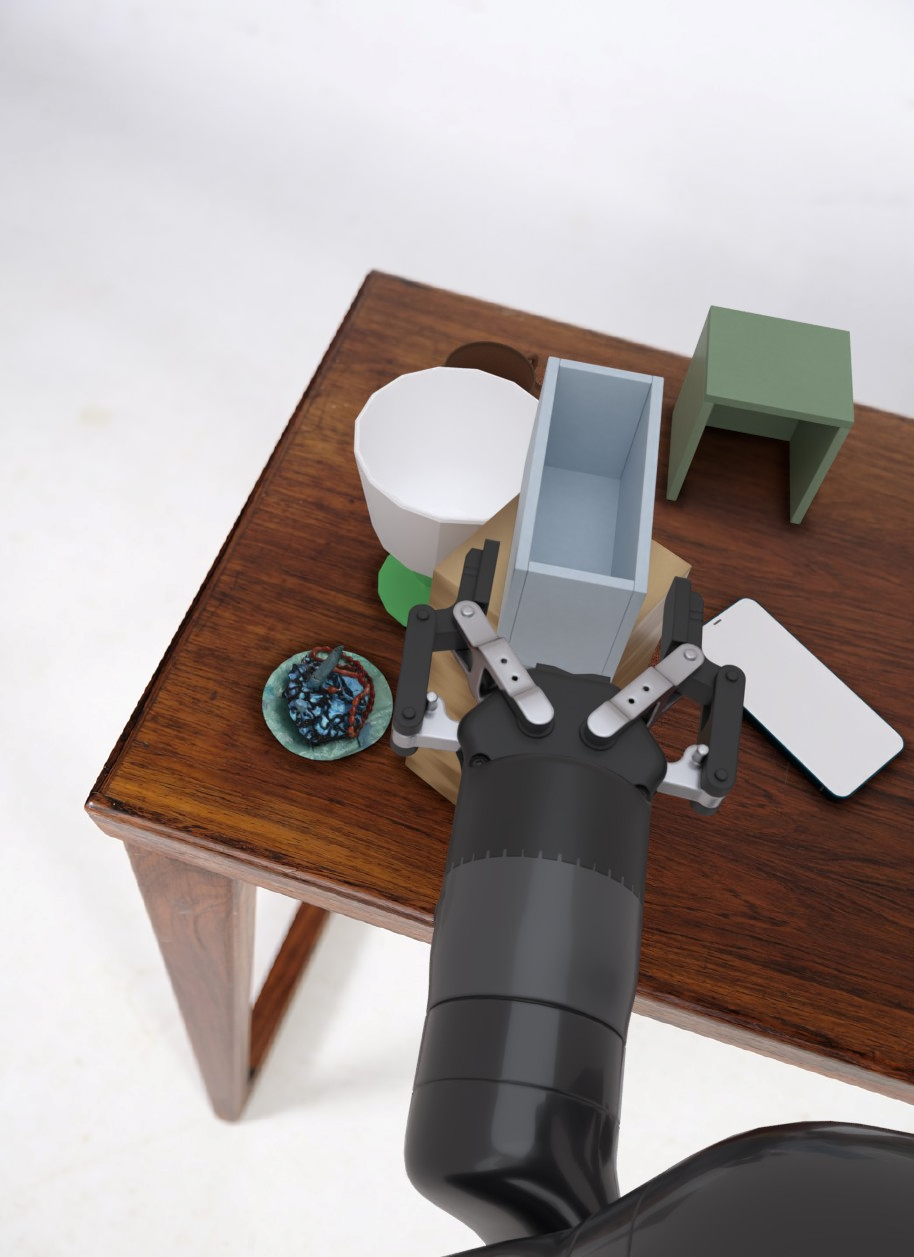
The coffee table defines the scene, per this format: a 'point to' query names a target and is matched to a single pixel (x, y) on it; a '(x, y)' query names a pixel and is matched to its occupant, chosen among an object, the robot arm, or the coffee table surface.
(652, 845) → the coffee table surface
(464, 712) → the stand
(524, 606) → the bin
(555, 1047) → the robot arm
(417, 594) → the cup
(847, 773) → the smartphone
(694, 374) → the cabinet
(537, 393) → the cup and saucer
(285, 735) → the dish
